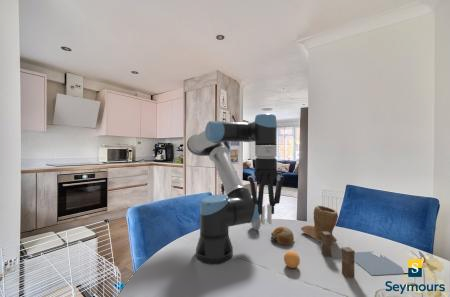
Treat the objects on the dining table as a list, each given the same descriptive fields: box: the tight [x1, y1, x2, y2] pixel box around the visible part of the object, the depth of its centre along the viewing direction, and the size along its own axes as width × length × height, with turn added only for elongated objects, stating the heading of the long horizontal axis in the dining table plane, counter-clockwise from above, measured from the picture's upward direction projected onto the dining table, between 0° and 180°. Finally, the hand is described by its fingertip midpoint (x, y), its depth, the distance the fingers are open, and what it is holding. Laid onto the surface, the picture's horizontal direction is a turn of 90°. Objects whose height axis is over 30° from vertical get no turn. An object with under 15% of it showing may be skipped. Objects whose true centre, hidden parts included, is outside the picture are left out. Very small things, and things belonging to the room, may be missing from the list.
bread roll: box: [270, 226, 295, 246], centre depth 93 cm, size 10×10×8 cm
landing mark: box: [354, 251, 405, 277], centre depth 75 cm, size 14×14×1 cm
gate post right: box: [341, 246, 356, 279], centre depth 68 cm, size 3×3×9 cm
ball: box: [283, 250, 301, 269], centre depth 73 cm, size 6×6×6 cm
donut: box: [250, 216, 262, 231], centre depth 105 cm, size 10×4×10 cm, turn 9°
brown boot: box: [300, 205, 339, 244], centre depth 95 cm, size 15×12×15 cm
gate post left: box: [321, 231, 333, 258], centre depth 80 cm, size 3×3×9 cm
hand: (266, 222), depth 72 cm, fingers open, 2 cm apart
